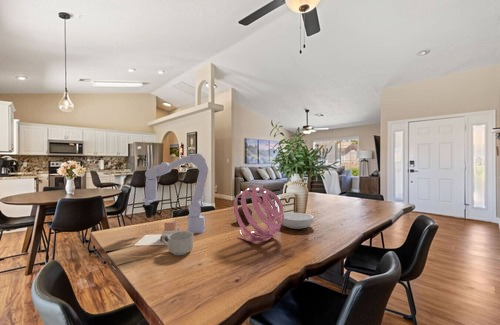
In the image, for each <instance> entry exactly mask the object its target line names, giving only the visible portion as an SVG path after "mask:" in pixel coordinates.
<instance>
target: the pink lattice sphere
mask: <svg viewBox="0 0 500 325" xmlns="http://www.w3.org/2000/svg"><path fill="white" fill-rule="evenodd" d="M250 190H252V191H250ZM258 193H259V194H261V195H262V196H261V197H262V198H261V197H260V196H259V195H258ZM240 195H241V198H240V203H241V207H242V209H243V212H244V214H245V217H246V218H247V220H248V222H249V224H250V226H251V227H252V228H253V229H254V230H255V231H252V230H249V229H248V228H247V226H246V224H244V223H243V222H242V220H241V218H240V215H239V212H238V208H239V207H238V199H239V197H240ZM247 195H248V196H249V197H251V203H252V206H253V209H254V211H255V213H256V215H257V216H258V218H259V219H260V220H261V221H262V222H263V223H264V224H265V225H266V226H267V228H266V229H265V230H264V229H263V228H262V227H261V226H260V225H259V224H257V222H256V221H255V220H254V218H253V217H252V216H251V215H250V213H249V210H248V208H249V207H248V205H247ZM270 196H271V197H272V198H273V199H274V201H275V202H276V204H277V206H276V204H275V202H274V201H273V199H272V198H271V197H270ZM259 204H260V205H261V207H262V208H263V210H264V211H265V213H266V215H265V214H264V212H263V211H262V209H261V207H260V205H259ZM247 207H248V208H247ZM278 207H279V210H280V211H279V210H278ZM233 213H234V215H235V220H236V219H237V220H236V222H237V221H238V223H239V224H238V223H237V224H238V225H239V227H240V228H241V230H242V231H243V232H244V233H245V234H246V235H247V237H249V238H246V237H245V236H244V234H243V233H242V231H241V230H240V229H239V230H238V233H239V235H240V237H241V238H242V239H243V240H244V241H247V242H248V243H249V242H250V243H256V242H257V243H258V242H259V243H265V242H267V241H269V240H271V239H272V238H273V237H275V236H276V235H278V233H279V232H280V230H281V228H282V226H283V221H284V213H285V210H284V205H283V203H282V201H281V200H280V198H279V196H278V195H277V194H276V193H274V192H273V191H271V190H269V189H267V188H265V187H263V186H262V187H261V186H257V187H253V186H252V187H248V188H246V189H245V190H243V191H240V192H239V193H238V194H237V195H236V196H235V198H234V200H233ZM281 217H282V221H281V219H280V218H281ZM276 221H277V223H276Z"/></svg>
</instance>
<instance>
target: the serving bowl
mask: <svg viewBox="0 0 500 325" xmlns="http://www.w3.org/2000/svg"><path fill="white" fill-rule="evenodd" d="M280 219H281V221H282V217H281V218H280ZM313 222H314V216H313V214H308V213H305V212H304V213H302V212H284V221H283V224H282V226H284V227H286V228H290V229H292V230H293V229H294V230H301V229H302V230H303V229H306V228H309V227H310V226H311V225H312V224H313Z"/></svg>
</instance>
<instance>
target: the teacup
mask: <svg viewBox="0 0 500 325" xmlns="http://www.w3.org/2000/svg"><path fill="white" fill-rule="evenodd" d="M165 237H167V238H168V243H167V242H166V241H165ZM162 242H163V243H164V244H165V245H164V246H166V247H167V248H168V251H169V252H170V253H172V255H174V256H179V257H180V256H185V255H187V254H188V253H189V252H190V251H191V250H193V246H194V233H191V232H188V231H187V230H181V231H180V230H179V232H174V233H172V234H170V235H164V236H163V237H162Z"/></svg>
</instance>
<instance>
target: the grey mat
mask: <svg viewBox="0 0 500 325" xmlns="http://www.w3.org/2000/svg"><path fill="white" fill-rule="evenodd" d="M161 236H162V233H160V234H145V235H144V236H142V238H140V240H138V241H137V242H136V243H135V244H134V245H133V247H135V246H136V247H137V246H166V245H165V244H164V243H163V242H160V237H161ZM167 243H168V242H167Z"/></svg>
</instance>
